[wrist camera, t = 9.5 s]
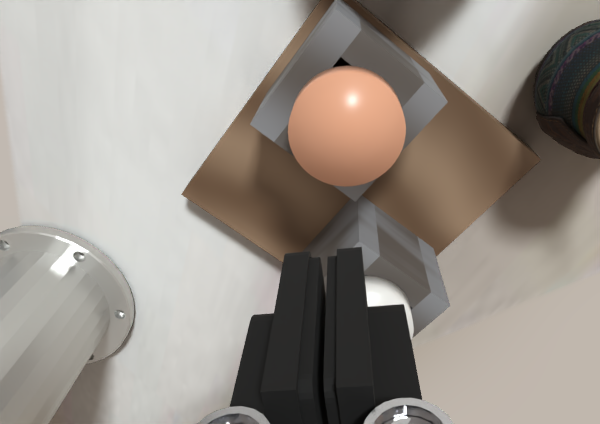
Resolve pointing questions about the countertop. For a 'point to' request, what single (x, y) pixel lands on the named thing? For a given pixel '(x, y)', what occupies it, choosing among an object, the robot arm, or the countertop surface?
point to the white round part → (387, 296)
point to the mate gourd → (571, 90)
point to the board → (375, 194)
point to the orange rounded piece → (346, 126)
